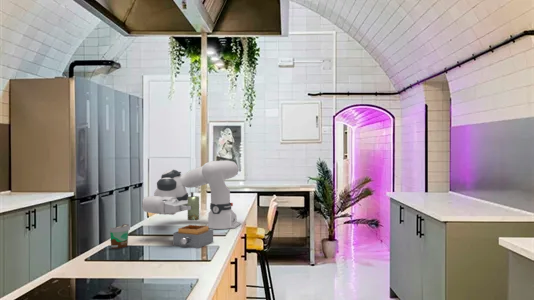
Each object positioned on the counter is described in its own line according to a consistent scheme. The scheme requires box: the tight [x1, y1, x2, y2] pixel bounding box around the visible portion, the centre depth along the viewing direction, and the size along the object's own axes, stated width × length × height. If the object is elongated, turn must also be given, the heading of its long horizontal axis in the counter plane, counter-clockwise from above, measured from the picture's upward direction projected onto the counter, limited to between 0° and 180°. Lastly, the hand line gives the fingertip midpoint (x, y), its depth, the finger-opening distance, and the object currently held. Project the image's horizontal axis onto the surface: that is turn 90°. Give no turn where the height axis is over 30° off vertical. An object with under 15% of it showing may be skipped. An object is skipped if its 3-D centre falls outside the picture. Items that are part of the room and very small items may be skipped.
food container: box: [109, 223, 131, 250], centre depth 213 cm, size 12×6×10 cm, turn 168°
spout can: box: [187, 191, 200, 221], centre depth 220 cm, size 6×6×13 cm
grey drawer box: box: [172, 224, 214, 249], centre depth 218 cm, size 17×14×8 cm
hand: (195, 207), depth 219 cm, fingers closed on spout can, 6 cm apart
